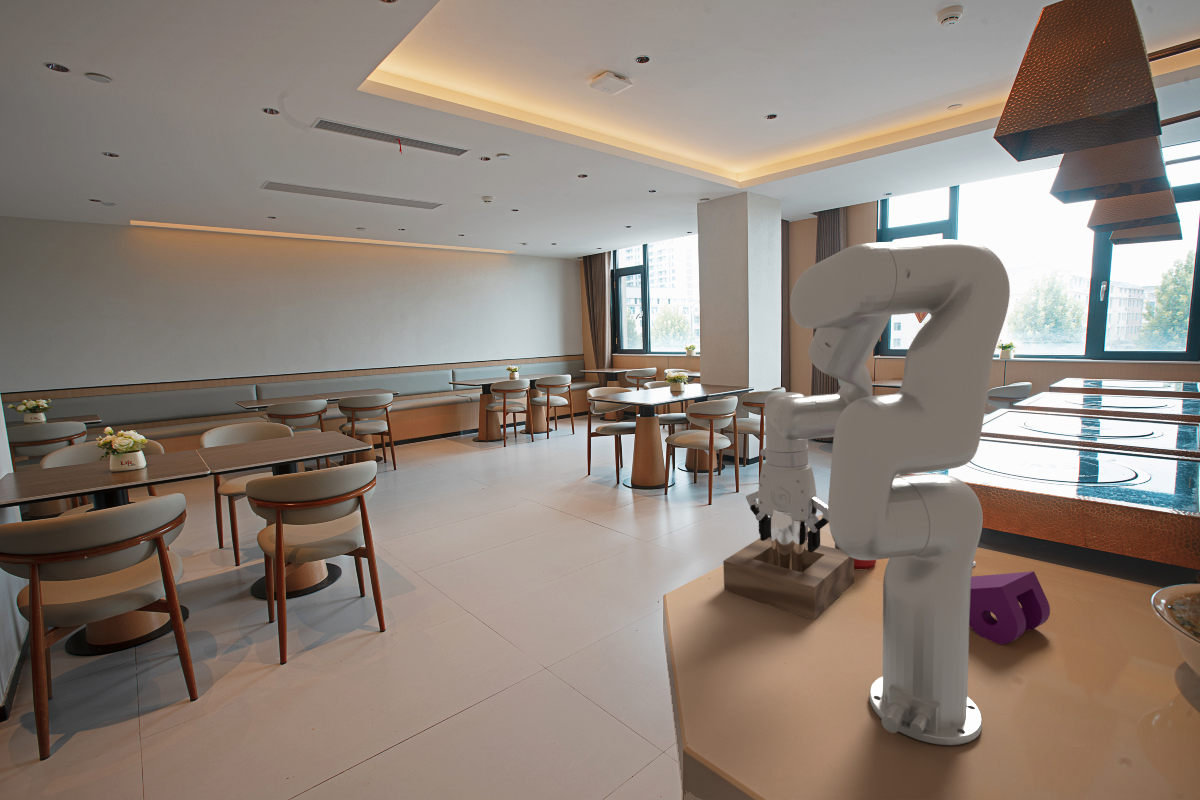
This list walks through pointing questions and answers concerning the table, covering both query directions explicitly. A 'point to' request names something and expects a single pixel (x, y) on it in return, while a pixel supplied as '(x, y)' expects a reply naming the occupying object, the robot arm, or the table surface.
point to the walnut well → (789, 578)
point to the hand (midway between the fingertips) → (788, 544)
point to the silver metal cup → (788, 540)
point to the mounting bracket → (1006, 605)
